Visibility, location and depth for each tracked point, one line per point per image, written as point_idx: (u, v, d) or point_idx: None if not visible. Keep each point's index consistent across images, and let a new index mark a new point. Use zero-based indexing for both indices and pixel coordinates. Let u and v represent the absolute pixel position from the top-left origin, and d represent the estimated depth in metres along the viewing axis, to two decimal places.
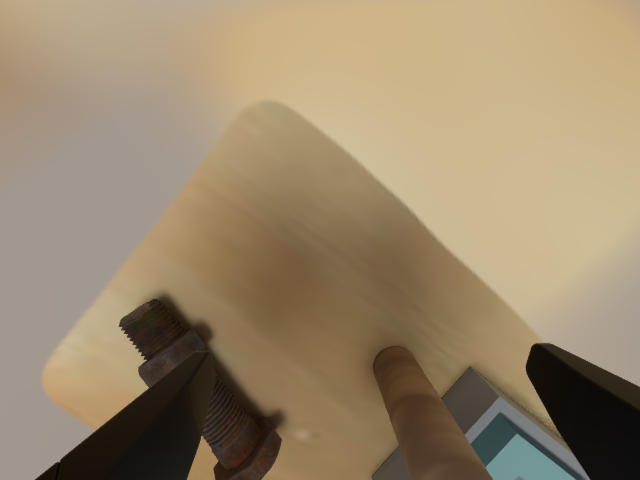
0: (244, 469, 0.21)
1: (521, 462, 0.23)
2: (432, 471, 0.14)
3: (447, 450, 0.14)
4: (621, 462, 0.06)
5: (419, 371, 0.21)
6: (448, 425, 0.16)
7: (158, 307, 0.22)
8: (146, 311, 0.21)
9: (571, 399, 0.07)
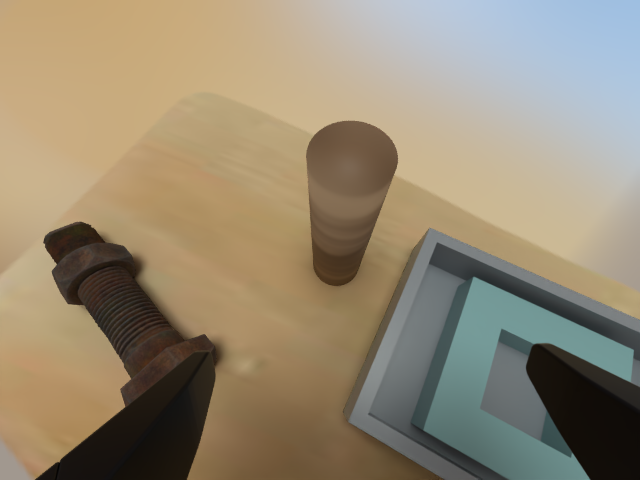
0: (158, 355, 0.16)
1: (495, 310, 0.19)
2: None
3: None
4: (621, 462, 0.06)
5: None
6: None
7: (89, 227, 0.23)
8: (75, 225, 0.22)
9: (571, 399, 0.07)
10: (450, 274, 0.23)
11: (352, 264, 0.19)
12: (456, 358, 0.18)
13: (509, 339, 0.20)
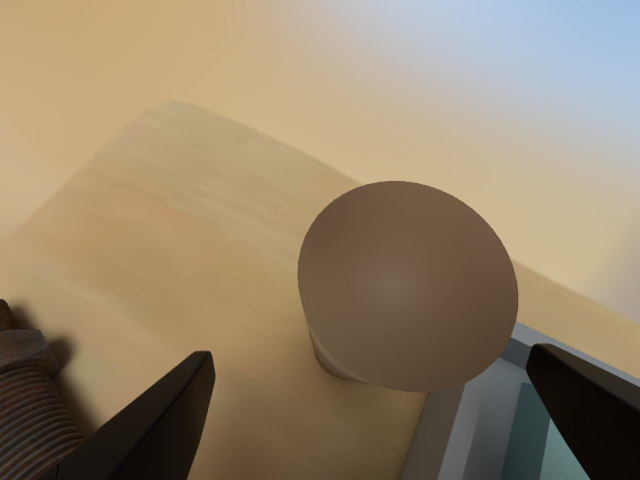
0: None
1: None
2: None
3: None
4: (621, 462, 0.06)
5: None
6: None
7: None
8: None
9: (571, 399, 0.07)
10: (509, 363, 0.16)
11: None
12: None
13: None
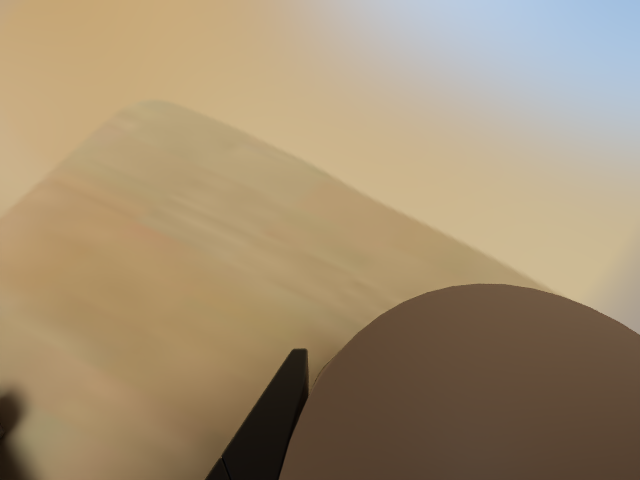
0: None
1: None
2: (320, 375, 0.04)
3: None
4: None
5: None
6: None
7: None
8: None
9: None
10: None
11: None
12: None
13: None
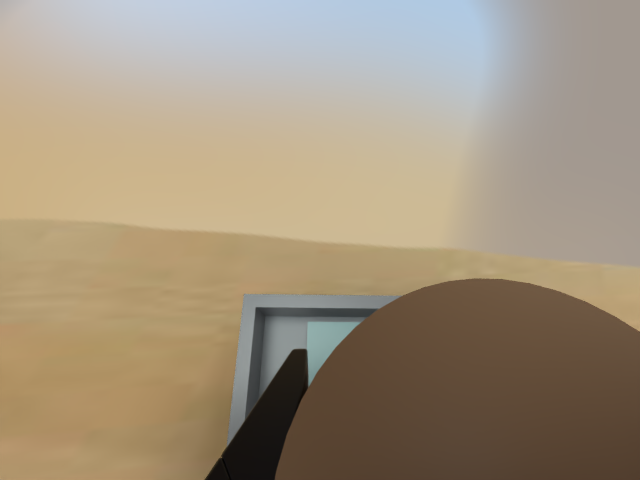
0: None
1: None
2: None
3: None
4: None
5: None
6: None
7: None
8: None
9: None
10: (298, 317, 0.21)
11: None
12: None
13: None
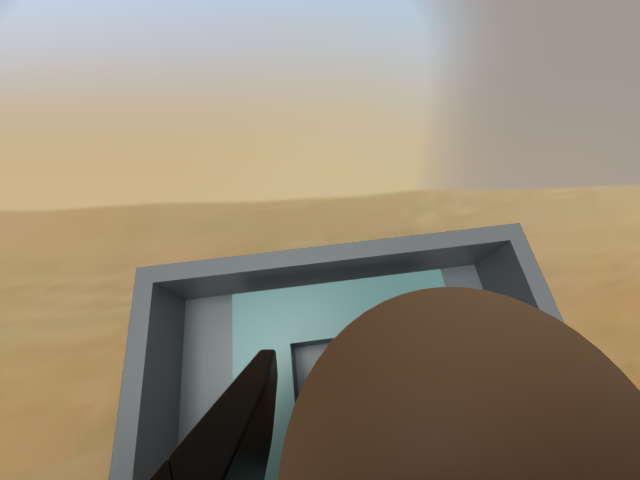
0: None
1: (275, 323, 0.13)
2: None
3: None
4: None
5: None
6: None
7: None
8: None
9: None
10: (230, 295, 0.16)
11: None
12: None
13: (317, 342, 0.14)
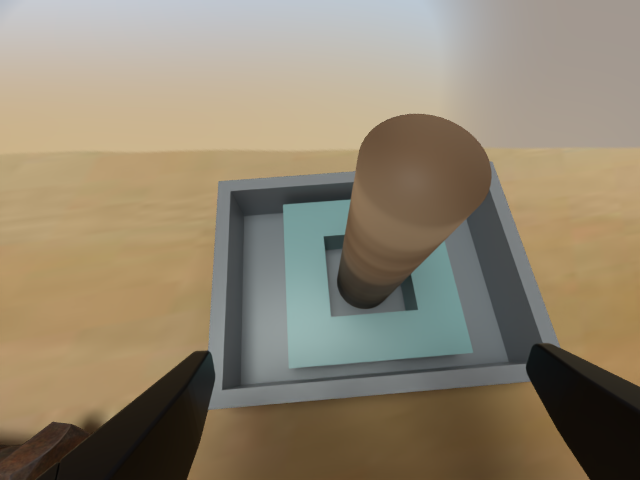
0: None
1: (313, 223, 0.19)
2: None
3: None
4: (621, 462, 0.06)
5: None
6: None
7: None
8: None
9: (571, 399, 0.07)
10: (276, 214, 0.22)
11: (390, 291, 0.15)
12: (294, 285, 0.17)
13: (341, 242, 0.20)
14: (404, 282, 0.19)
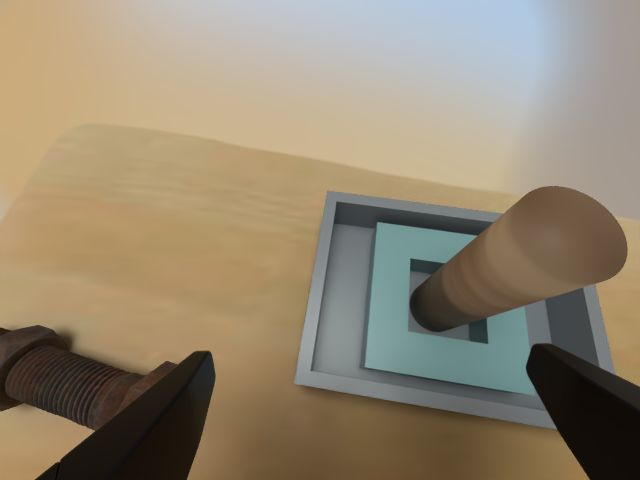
0: (124, 398, 0.16)
1: (402, 244, 0.21)
2: (498, 218, 0.12)
3: None
4: (621, 462, 0.06)
5: None
6: None
7: None
8: None
9: (571, 399, 0.07)
10: (363, 228, 0.25)
11: (471, 322, 0.17)
12: (378, 296, 0.20)
13: (422, 266, 0.22)
14: None
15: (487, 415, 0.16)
